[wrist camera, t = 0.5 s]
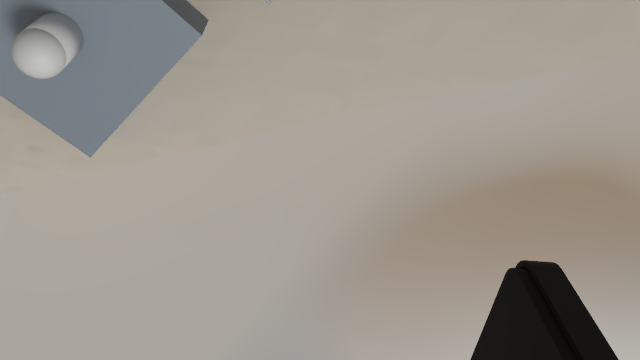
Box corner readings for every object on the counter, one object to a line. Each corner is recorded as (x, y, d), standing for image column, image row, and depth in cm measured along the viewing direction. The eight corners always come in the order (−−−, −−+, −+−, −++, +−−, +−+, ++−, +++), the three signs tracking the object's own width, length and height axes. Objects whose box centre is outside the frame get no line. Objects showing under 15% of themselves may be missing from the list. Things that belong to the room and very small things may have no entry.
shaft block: (41, -130, 31) (-23, -118, 25) (208, 20, 36) (189, 61, 30) (-59, 20, 35) (-134, 63, 29) (103, 136, 40) (68, 193, 34)
